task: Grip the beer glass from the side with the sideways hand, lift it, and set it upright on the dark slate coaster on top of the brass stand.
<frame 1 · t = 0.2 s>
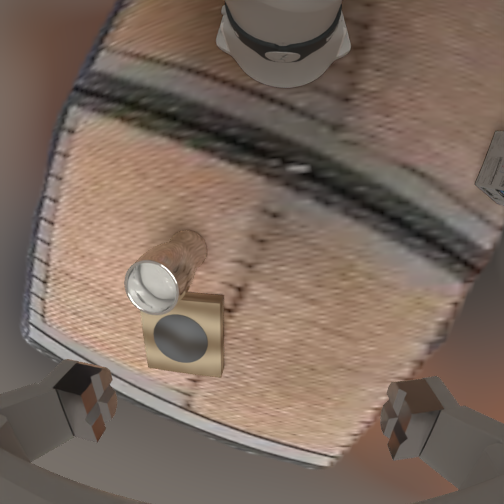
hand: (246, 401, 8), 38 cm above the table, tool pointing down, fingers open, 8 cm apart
light bulb box: (496, 167, 40), on the table
beer glass: (188, 249, 48), on the table
brass stand: (185, 329, 52), on the table
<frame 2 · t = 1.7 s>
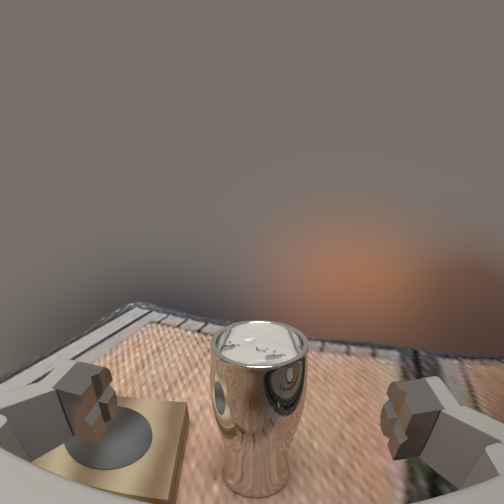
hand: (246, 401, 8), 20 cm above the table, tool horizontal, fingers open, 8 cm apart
beer glass: (255, 475, 25), on the table
brass stand: (114, 455, 25), on the table
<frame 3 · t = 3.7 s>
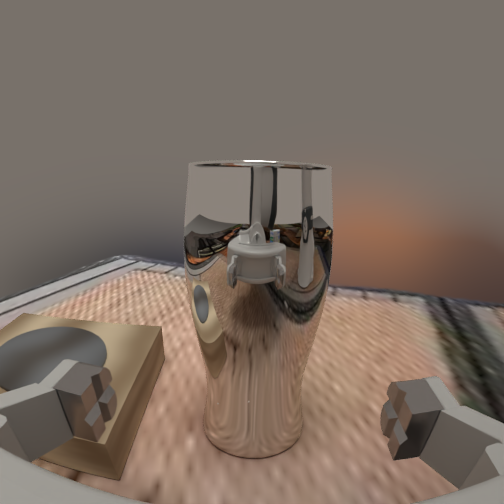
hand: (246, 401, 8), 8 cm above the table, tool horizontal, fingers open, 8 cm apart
beer glass: (252, 426, 18), on the table
brass stand: (57, 392, 18), on the table
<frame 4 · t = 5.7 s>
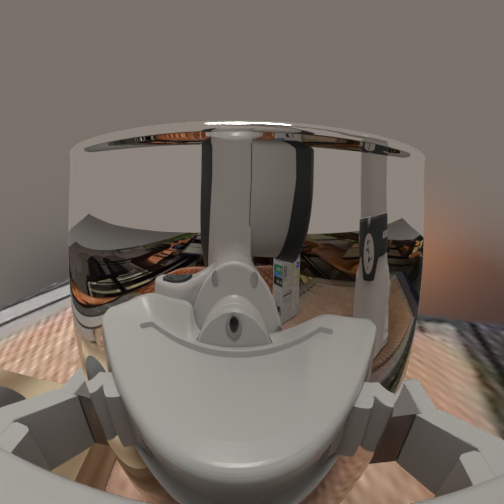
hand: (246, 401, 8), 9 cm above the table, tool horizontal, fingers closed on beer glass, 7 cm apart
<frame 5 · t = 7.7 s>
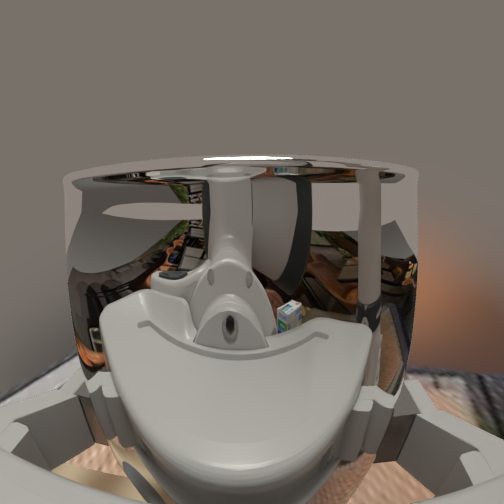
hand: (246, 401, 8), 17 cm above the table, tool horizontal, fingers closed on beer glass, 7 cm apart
when the fingers open (13 cm above the table, at t = 9.8 s): beer glass moves 1 cm, resting on brass stand.
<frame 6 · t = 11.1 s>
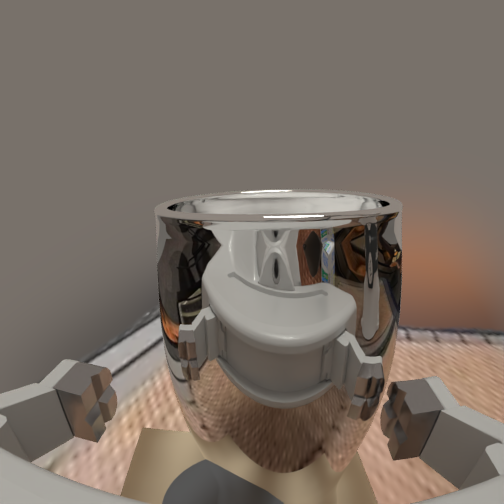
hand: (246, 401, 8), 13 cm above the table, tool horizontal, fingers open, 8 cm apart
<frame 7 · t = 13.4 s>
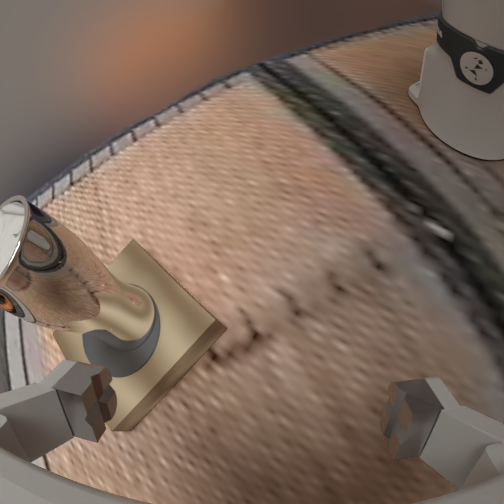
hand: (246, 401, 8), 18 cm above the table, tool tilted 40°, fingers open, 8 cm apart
beer glass: (128, 319, 27), point 3 cm above the table, touching brass stand
brass stand: (136, 337, 30), on the table
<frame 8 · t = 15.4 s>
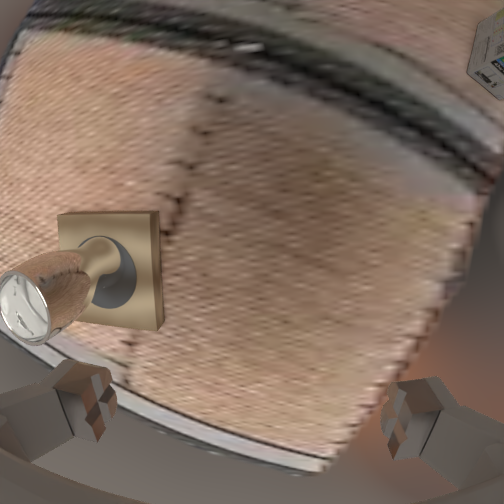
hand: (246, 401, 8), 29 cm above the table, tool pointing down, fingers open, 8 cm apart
light bulb box: (488, 60, 29), on the table
beer glass: (103, 261, 35), point 3 cm above the table, touching brass stand
brass stand: (114, 266, 39), on the table
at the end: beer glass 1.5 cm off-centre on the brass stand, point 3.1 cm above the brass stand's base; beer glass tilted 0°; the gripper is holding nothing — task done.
